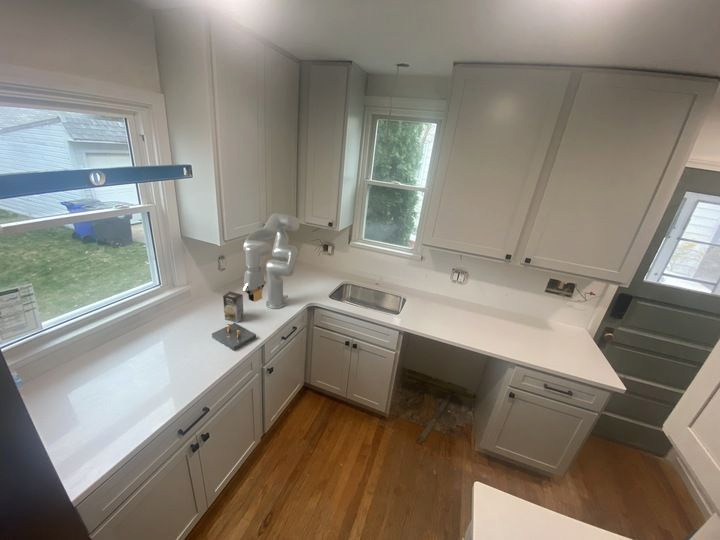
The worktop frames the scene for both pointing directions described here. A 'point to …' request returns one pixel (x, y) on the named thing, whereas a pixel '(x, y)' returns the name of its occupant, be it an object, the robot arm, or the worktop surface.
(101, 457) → the worktop surface
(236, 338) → the plate
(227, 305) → the coffee box
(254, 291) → the tan cardboard cube
